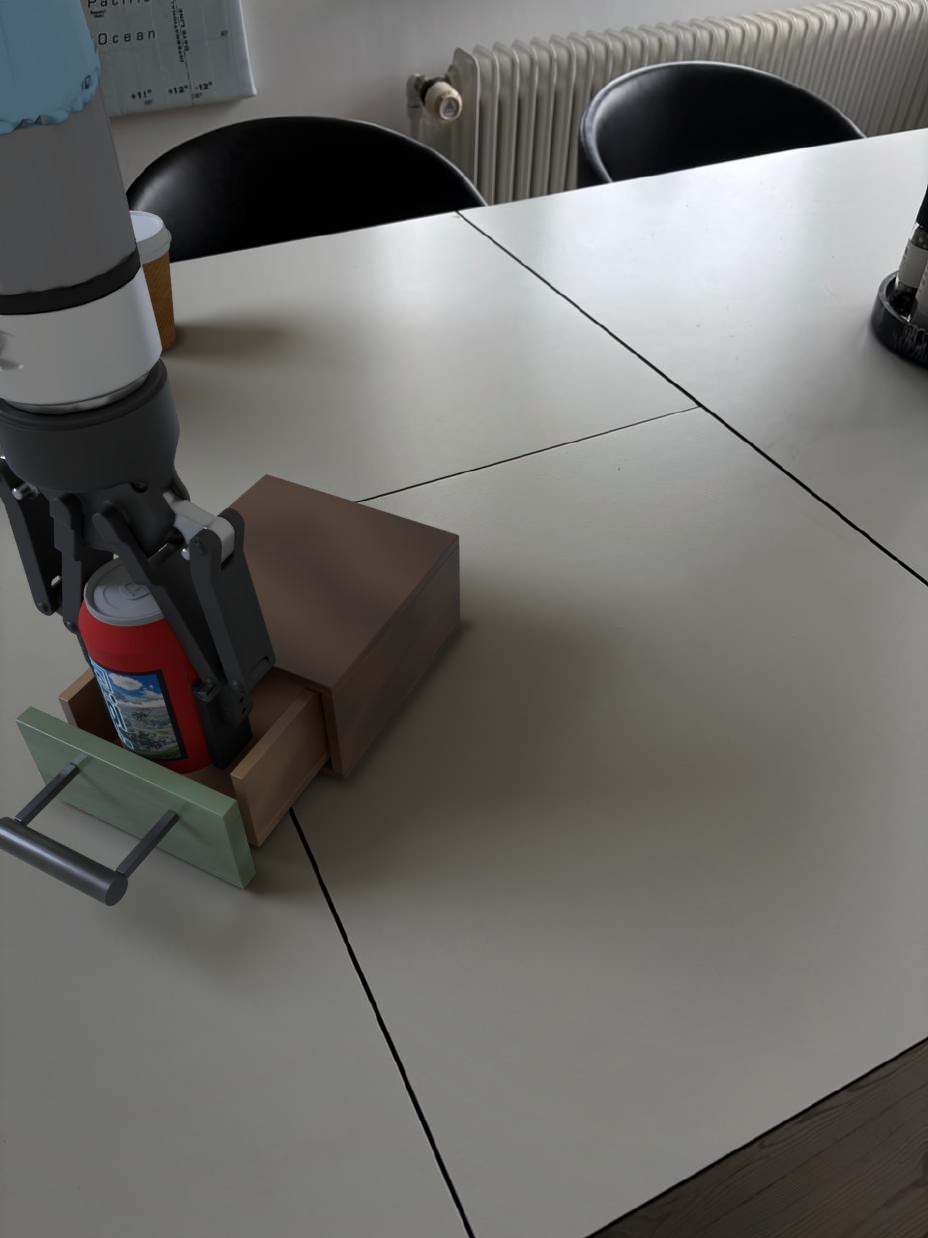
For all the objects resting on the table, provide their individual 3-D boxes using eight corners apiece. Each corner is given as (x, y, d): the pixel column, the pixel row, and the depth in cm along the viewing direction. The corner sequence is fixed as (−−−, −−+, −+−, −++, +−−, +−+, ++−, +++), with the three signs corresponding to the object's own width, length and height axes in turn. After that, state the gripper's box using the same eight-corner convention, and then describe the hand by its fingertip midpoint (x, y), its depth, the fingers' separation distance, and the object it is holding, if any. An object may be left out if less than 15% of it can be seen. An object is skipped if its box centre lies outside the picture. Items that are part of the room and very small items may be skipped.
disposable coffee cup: (79, 358, 102) (44, 241, 93) (129, 316, 108) (101, 203, 100) (162, 372, 99) (135, 253, 91) (208, 328, 106) (186, 214, 98)
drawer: (176, 978, 52) (147, 907, 47) (-26, 868, 57) (-70, 795, 52) (378, 715, 65) (370, 639, 60) (200, 644, 70) (181, 569, 65)
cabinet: (344, 783, 62) (331, 688, 56) (147, 698, 67) (116, 603, 62) (460, 628, 72) (459, 534, 66) (281, 565, 78) (265, 473, 72)
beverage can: (105, 733, 59) (46, 578, 51) (207, 679, 62) (167, 525, 54) (159, 805, 55) (105, 650, 47) (264, 744, 58) (231, 589, 50)
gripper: (-162, 358, 43) (7, 714, 59) (204, 477, 37) (284, 843, 52) (-27, 289, 48) (96, 635, 64) (318, 383, 42) (360, 743, 57)
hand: (181, 728), depth 58 cm, fingers closed on beverage can, 7 cm apart
